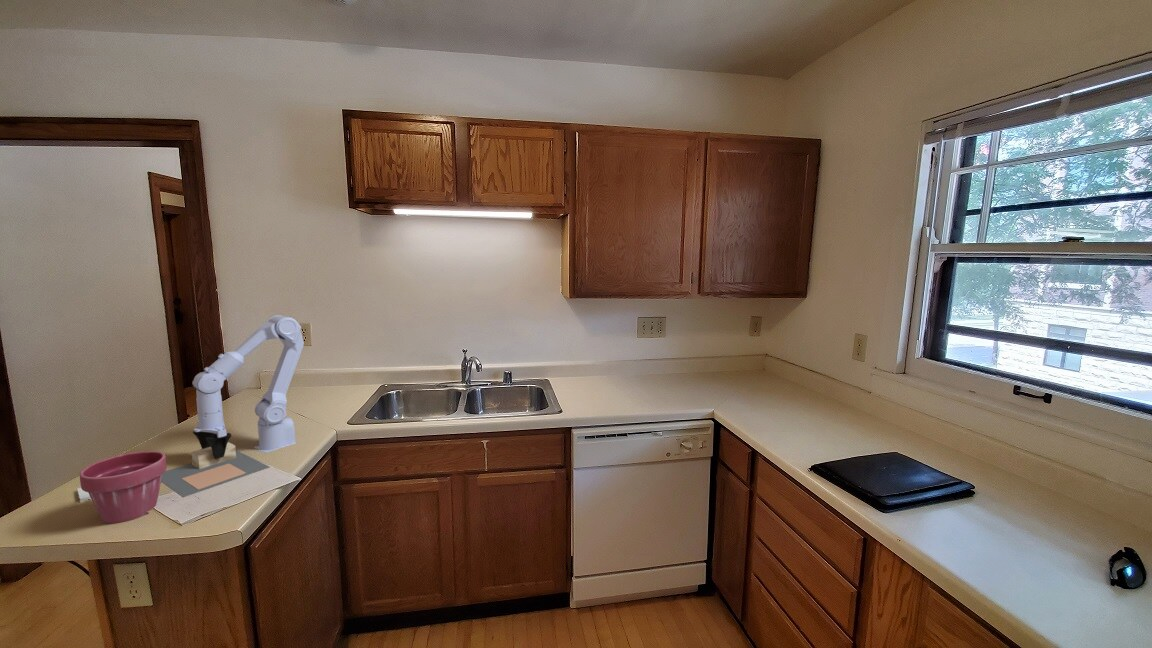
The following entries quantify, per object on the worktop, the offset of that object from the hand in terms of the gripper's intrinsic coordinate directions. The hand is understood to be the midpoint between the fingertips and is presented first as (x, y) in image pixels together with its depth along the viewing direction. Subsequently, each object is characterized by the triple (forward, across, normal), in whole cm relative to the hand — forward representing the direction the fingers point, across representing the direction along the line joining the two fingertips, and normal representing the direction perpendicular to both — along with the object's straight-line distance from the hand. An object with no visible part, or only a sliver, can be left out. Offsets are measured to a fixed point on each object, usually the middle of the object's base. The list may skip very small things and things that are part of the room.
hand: (213, 454), depth 129 cm
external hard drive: (+4, -5, -20) cm, 21 cm away
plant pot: (+3, +15, -22) cm, 27 cm away
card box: (+2, 0, 0) cm, 2 cm away
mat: (+3, +7, -3) cm, 8 cm away
